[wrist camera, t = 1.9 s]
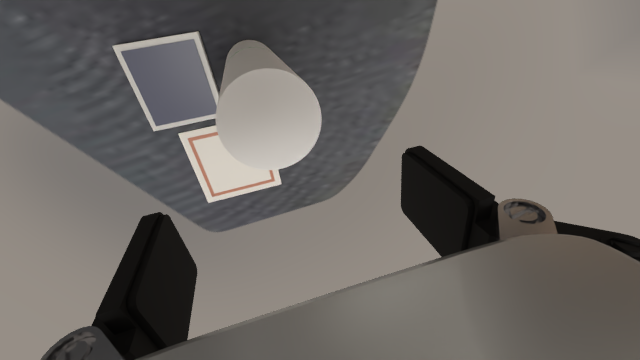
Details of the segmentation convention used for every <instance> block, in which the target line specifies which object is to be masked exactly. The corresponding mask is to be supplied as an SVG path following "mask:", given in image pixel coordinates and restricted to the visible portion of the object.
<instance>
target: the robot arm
mask: <svg viewBox="0 0 640 360" xmlns="http://www.w3.org/2000/svg"><path fill="white" fill-rule="evenodd" d="M401 182H402V183H401V208H402V211H403V212H404V214H405V215H406V216H407V217H408V218H409V220H410V221H411V222H412V223H413V224H414V225H415V226H416V228H417V229H418V230H419V231H420V232H421V233H422V235H423V236H424V237H425V238H426V239H427V240H428V241H429V243H430V244H431V245H432V246H433V247H434V248H435V249H436V251H437V252H438V253H439V254H440V255H441V256H442V257H441V258H438V259H435V260H432V261H428V262H425V263H422V264H419V265H416V266H413V267H409V268H406V269H404V270H400V271H397V272H394V273H391V274H387V275H384V276H381V277H378V278H375V279H372V280H369V281H366V282H363V283H359V284H356V285H353V286H350V287H347V288H344V289H341V290H338V291H335V292H332V293H328V294H326V295H323V296H319V297H316V298H313V299H310V300H307V301H304V302H301V303H298V304H295V305H292V306H289V307H286V308H283V309H280V310H277V311H273V312H271V313H267V314H265V315H261V316H259V317H255V318H252V319H249V320H246V321H243V322H240V323H238V324H234V325H231V326H228V327H225V328H222V329H219V330H216V331H213V332H210V333H207V334H205V335H202V336H199V337H196V338H193V339H190V340H187V338H188V331H189V324H190V317H191V311H192V304H193V297H194V291H195V284H196V277H197V268H196V264H195V262H194V260H193V259H192V257H191V255H190V253H189V251H188V249H187V248H186V246H185V244H184V242H183V240H182V238H181V237H180V235H179V233H178V231H177V229H176V228H175V226H174V224H173V222H172V220H171V218H170V217H169V215H167V214H166V215H163V214H162V213H161V212H158V213H154V214H150V215H147V216H143V217H142V218H141V220H140V222H139V224H138V226H137V229H136V230H135V233H134V235H133V237H132V239H131V241H130V243H129V245H128V248H127V250H126V252H125V254H124V256H123V258H122V260H121V262H120V264H119V267H118V269H117V271H116V273H115V275H114V277H113V279H112V281H111V284H110V286H109V288H108V290H107V292H106V294H105V296H104V298H103V300H102V303H101V305H100V307H99V309H98V311H97V313H96V317H95V319H94V322H93V324H92V326H88V327H83V328H80V329H78V330H76V331H73V332H71V333H70V334H68V335H66V336H65V337H63V338H62V339H60V340H59V341H58V342H57V343H56V344H54V345H53V346H52V347H51V348H50V349H49V350H48V351H47V352H46V354H45V355H44V356H43V357H42V358H41V360H640V239H638V238H635V237H633V236H629V235H625V234H621V233H616V232H610V231H605V230H600V229H595V228H589V227H584V226H579V225H573V224H567V223H563V222H557V221H554V220H553V216H552V214H551V213H550V211H548V209H546V208H545V207H544V206H542V205H540V204H538V203H535V202H533V201H530V200H525V199H515V198H514V199H507V200H504V201H502V202H501V203H500V204H498V203H497V202H496V201H494V199H495V196H494V195H492V194H491V193H490V192H488V191H487V190H485V189H484V188H482V187H481V186H479V185H478V184H477V183H475V182H474V181H472V180H471V179H469V178H468V177H466V176H465V175H463V174H462V173H461V172H459V171H458V170H456V169H455V168H453V167H452V166H450V165H448V164H447V163H446V162H444V161H443V160H441V159H440V158H439V157H437V156H436V155H434V154H433V153H431V152H430V151H428V150H427V149H425V148H424V147H422V146H417V147H413V148H408V149H407V150H406V151H405V153H403V155H402V179H401Z"/></svg>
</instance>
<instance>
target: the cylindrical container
mask: <svg viewBox="0 0 640 360" xmlns="http://www.w3.org/2000/svg"><path fill="white" fill-rule="evenodd" d="M321 119H322V118H321V109H320V106H319V103H318V100H317V98H316V96H315V94H314V92H313V91H312V90H311V89H310V87H309V86H308V85H307V84H306V83H305V82H304V81H303V80H302V79H301V78H300V77H299V76H298V75H297V74H296V73H295V72H293V71H292V70H291V69H290V68H289V67H288V66H287V65H286V64H285V63H284V62H283V61H282V60H281V59H280V58H279V57H277V56H276V55H275V54H274V53H273V52H272V51H271V50H270V49H269V48H268V47H267V46H266V45H264V44H262V43H261V42H258V41H255V40H244V41H241V42H238V43H237V44H235V45H234V46H233V47H232V48H231V50H230V51H229V53H228V55H227V58H226V64H225V69H224V74H223V79H222V84H221V89H220V94H219V99H218V104H217V109H216V118H215V120H216V129H217V132H218V135H219V138H220V141H221V142H222V144H223V146H224V148H225V149H226V150H227V151H228V152H229V153H230V155H232V156H233V157H234V158H235V159H236V160H238V161H239V162H241V163H243V164H245V165H247V166H249V167H252V168H255V169H261V170H277V169H282V168H286V167H288V166H291V165H293V164H295V163H296V162H298V161H300V160H301V159H302V158H303V157H305V156H306V155H307V154H308V153H309V152H310V150H311V149H312V148H313V146H314V145H315V143H316V141H317V139H318V136H319V133H320V129H321Z"/></svg>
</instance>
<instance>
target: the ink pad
mask: <svg viewBox="0 0 640 360" xmlns="http://www.w3.org/2000/svg"><path fill="white" fill-rule="evenodd" d="M112 47H113V49H114V51H115V53H116V55H117V57H118V59H119V61H120V63H121V65H122V67H123V69H124V72H125V74H126V76H127V78H128V80H129V82H130V84H131V86H132V88H133V90H134V92H135V94H136V96H137V98H138V100H139V102H140V104H141V106H142V108H143V110H144V113H145V115H146V117H147V119H148V121H149V123H150V125H151V127H152V129H153V131H158V130H163V129H167V128H172V127H177V126H181V125H186V124H191V123H195V122H200V121H205V120H209V119H214V118H216V109H217V104H218V99H219V91H218V88H217V85H216V82H215V79H214V76H213V73H212V70H211V67H210V64H209V61H208V58H207V55H206V52H205V49H204V45H203V42H202V39H201V36H200V33H199V31H197V32H191V33H185V34H179V35H173V36H167V37H161V38H155V39H149V40H143V41H137V42H131V43H125V44H119V45H114V46H112Z"/></svg>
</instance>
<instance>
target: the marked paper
mask: <svg viewBox="0 0 640 360" xmlns="http://www.w3.org/2000/svg"><path fill="white" fill-rule="evenodd" d="M178 135H179V137H180V139H181V142H182V144H183V146H184V148H185V151H186V153H187V155H188V157H189V160H190V162H191V164H192V166H193V169H194V171H195V173H196V176H197V178H198V180H199V182H200V185H201V187H202V189H203V191H204V194H205V196H206V198H207V201H208V203H210V202H214V201H218V200H222V199H226V198H229V197H233V196H237V195H241V194H245V193H249V192H253V191H257V190H261V189H264V188H268V187H272V186H276V185H280V184H281V180H280V176H279V172H278V169H277V170H261V169H255V168H252V167H249V166H247V165H245V164H243V163H241V162H239V161H238V160H236V159H235V158H234V157H233V156H232V155H230V153H229V152H228V151H227V150H226V149H225V148H224V146H223V144H222V142H221V141H220V138H219V135H218V132H217V129H216V125H214V126H210V127H205V128H200V129H196V130H191V131H187V132H182V133H178Z"/></svg>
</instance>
